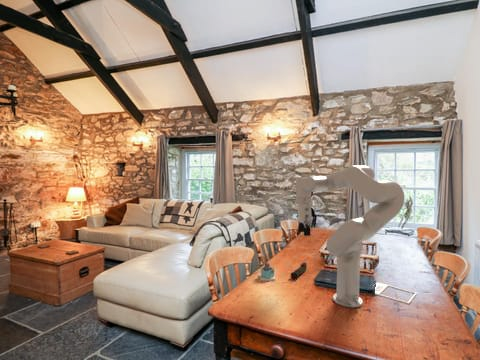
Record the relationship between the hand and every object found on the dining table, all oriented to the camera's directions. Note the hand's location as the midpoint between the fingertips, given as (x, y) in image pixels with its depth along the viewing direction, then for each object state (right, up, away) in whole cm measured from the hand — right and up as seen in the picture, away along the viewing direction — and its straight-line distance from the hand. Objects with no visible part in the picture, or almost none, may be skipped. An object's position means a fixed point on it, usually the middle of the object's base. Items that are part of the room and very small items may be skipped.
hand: (304, 233), depth 149 cm
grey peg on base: (-19, -26, +7) cm, 33 cm away
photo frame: (+40, -27, -11) cm, 50 cm away
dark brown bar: (0, -26, +14) cm, 29 cm away
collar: (-19, -25, +7) cm, 32 cm away
